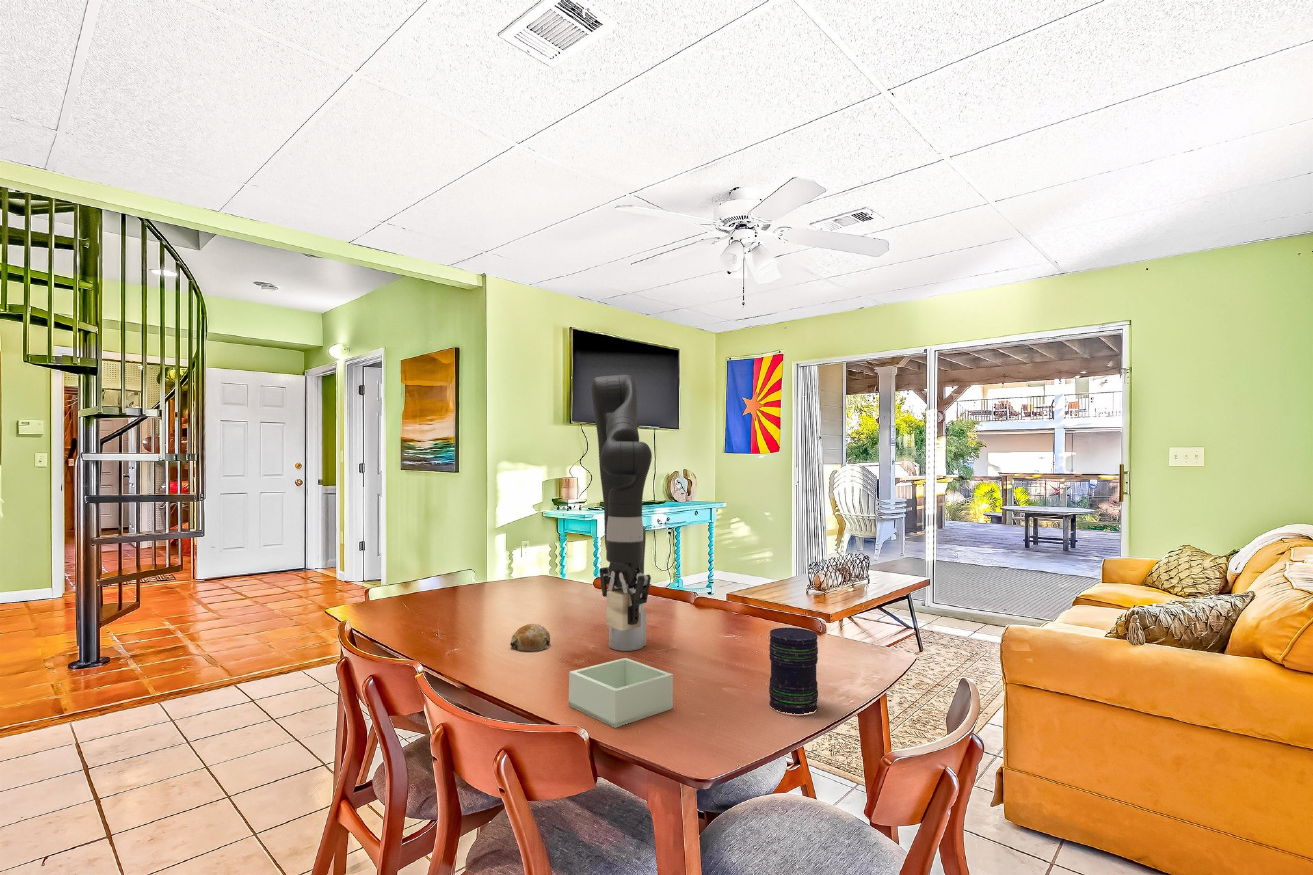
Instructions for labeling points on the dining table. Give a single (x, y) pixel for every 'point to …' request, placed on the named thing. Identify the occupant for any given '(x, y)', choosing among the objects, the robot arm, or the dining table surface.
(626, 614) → the block
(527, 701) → the dining table surface
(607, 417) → the robot arm
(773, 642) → the storage jar
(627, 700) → the bin
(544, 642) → the bread roll
